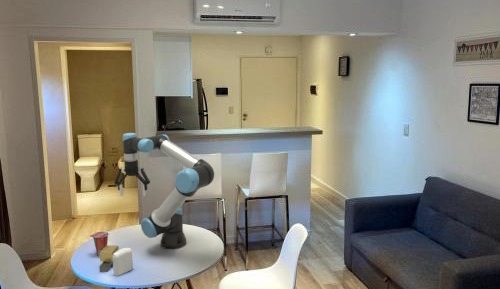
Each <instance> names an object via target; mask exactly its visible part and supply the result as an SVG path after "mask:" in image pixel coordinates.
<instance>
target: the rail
mask: <svg viewBox="0 0 500 289" xmlns="http://www.w3.org/2000/svg"><path fill="white" fill-rule="evenodd" d="M112 267H113V262H102V263H101V264H100V265H99V266H98V268H99V273H108V272H109V271H110V270H111V268H112Z"/></svg>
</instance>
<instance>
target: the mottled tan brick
mask: <svg viewBox="0 0 500 289" xmlns="http://www.w3.org/2000/svg"><path fill="white" fill-rule="evenodd" d="M118 250H119V245H107V246H105V247H104V248H103V249H102V251H101V252H100V256H99V262H102V263H103V262H113V258H112V256H113V254H114V253H115V252H117V251H118Z"/></svg>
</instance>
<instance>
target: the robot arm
mask: <svg viewBox="0 0 500 289" xmlns="http://www.w3.org/2000/svg"><path fill="white" fill-rule="evenodd" d="M122 143H123V144H122V146H123V147H122V149H123V160H124V168H123V167H120V168H119V169H118V174H117V175H116V176H117V177H116V178H115V181H114V185H117V189H118V191H119V196H120V197H122V196H124V190H123V189H124V188H123V184H122V183H123V181H124V180H125V179H126V178H127V177H136V178H137V179H138V180H139V181H140V182H141V183H142V184H143V185H142V193H143V197H145V196H147V190H148V185H150V183H151V180H150V178H149V177H148V176H147V174H146V171H145V168H144V167H142V168H141V167H139V160H138V158H139V156H138V152H139V153H140V152H141V153H150V152H152V151H153V150H159V151H160V152H162V153H164V154H165V155H167V156H168V157H170V158H171V159H172V160H175V161H176V162H178V163H179V164H181V165H182V166H183V167H185V168H184V169H183V170H180V171H178V173H177V174H176V176H175V180H174V186H175V187H174V188H173V189H172V191H171V192H170V194H169V195H168V196H167V197H166V198H165V199H164V201H163V202H162V204H161V205H160V206H159V207H158V208H157V209H154V210H152V212H151V214H149V216H147V217H144V218H143V219H142V220H141V221H140V227H141V231H142V232H143V234H144V236H146V237H147V238H149V239H153V238H156V237H157V236H159V235H161V234H162V235H161V238H160V247H161V248H163V249H167V250H175V249H181V248H183V247H184V246H186V245H187V237H186V236H185V233H184V231H183V230H184V228H183V226H184V225H183V224H184V223H183V222H184V221H183V210H182V205H183V204H184V203H185V201H187V199H188V198H191V197H193V196H194V195H195V194H196V193H197V192H198V190H200V189H202V188H204V187H206V186H207V187H208V186H209V185H211V184H212V182H213V181H214V179H215V171H214V170H215V169H214V168H213V166H212V165H211V164H210V163H209V162H207V161H206V160H204V159H202V158H198V157H196V156H194V155H193V154H192V153H189V152H188V151H187V150H185V149H183V148H182V147H180V146H179V145H177V144H175V143H174V142H172V141H170V137H169V136H168V135H167V134H158V135H153V136H146V137H137V133H135V132H127V133H124V134H123V135H122ZM123 172H124V173H125V174H124V175H123V176H122V174H123ZM139 172H140V173H141V174H140V173H139ZM121 176H122V178H121ZM120 178H121V179H120Z"/></svg>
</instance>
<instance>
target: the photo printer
mask: <svg viewBox="0 0 500 289" xmlns="http://www.w3.org/2000/svg"><path fill="white" fill-rule="evenodd" d="M112 258H113V265H112V267H113V275H114V276H116V277H118V276H121V275H123V274H126V273H127V272H130V271H132V270H133V269H134V263H133V261H134V260H133V251H132V249H131V248H130V247H124V248H121V249H118V251H117V252H115V253H114V254H113V256H112Z"/></svg>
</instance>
